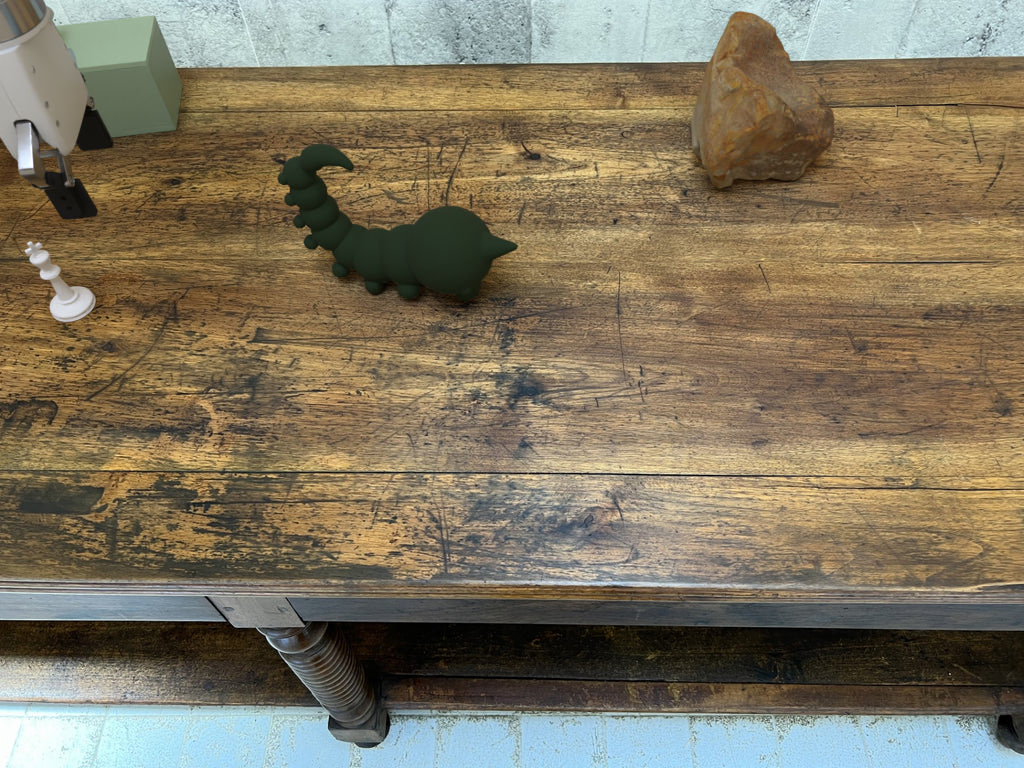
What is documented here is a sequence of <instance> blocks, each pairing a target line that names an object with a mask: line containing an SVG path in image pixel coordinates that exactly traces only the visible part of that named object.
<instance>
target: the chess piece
mask: <svg viewBox="0 0 1024 768" xmlns="http://www.w3.org/2000/svg"><path fill="white" fill-rule="evenodd" d="M26 244H27V246H28V248H26V249H25V250H24V252H25V254H26V255H27V256H28V257H29V262H30V264H32V265H33V266H35V267H37V268H38V269H39V277H40V278H41V279H42V280H45V281H49V282H50V284H51V286H52V287H53V289H54V291H55V295H54V296H53V298H52V299H51V301H50V303H49V311H50V313H51V315H52V317H53V318H54V319H55V320H57V321H58V322H62V323H69V322H70V323H71V322H76V321H78V320H81V319H84V318H85V317H86V316H88V315H89V314H90V313H91V312H92V311H93V309H94V307H95V306H96V302H97V299H96V295H95V294H94V292H92V291H91V290H90V288H88V287H85V286H81V285H78V286H69V285H68V284H67V283H66V281H64V280H63V279H62V278H61V276H60V273H61V267H60V266H59V265H57V264H52V260H51V255H50V253H49V252H48V251H47V250H45V249H42V248H43V247H44V246H43V245H42V243H41V242H40V241H38V242H36V243H35V244H34V243H33V241H31V240H30V241H28V242H26Z"/></svg>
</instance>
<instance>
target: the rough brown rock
mask: <svg viewBox="0 0 1024 768" xmlns="http://www.w3.org/2000/svg"><path fill="white" fill-rule="evenodd" d="M777 33H778V32H777V29H776V27H775V26H774V25H773V24H771V23H770V22H769V21H768V20H766V19H764V18H763V17H761V16H759V15H757V14H756V13H752V12H748V11H744V10H743V11H742V10H739V11H735V12H734V13H732V14H731V15H730V17H729V19H728V21H727V23H726V26H725V28H724V30H723V33H722V35H721V36H720V38H719V39H718V41H717V44H716V47H715V49H714V51H713V53H712V56H711V58H710V60H709V61H708V64H707V66H706V68H705V71H704V74H703V77H702V81H701V84H700V87H699V91H698V95H697V99H696V102H695V104H694V106H693V109H692V115H691V121H690V132H691V149H692V152H693V154H694V155H695V156H697V158H699V159H700V160H701V165H702V166H703V169H704V170H706V172H707V175H708V177H709V180H710V182H711V184H712V185H713V187H716V188H717V189H722V188H726V187H730V186H732V184H733V182H734V181H735V180H737V179H742V180H746V181H747V180H748V181H754V180H755V181H756V180H757V181H758V180H760V181H763V180H769V179H771V178H772V179H775V180H780V181H793V182H794V181H796V180H797V179H799V178H800V177H802V176H803V175H804V174H805V173H806V171H807V170H808V169H809V167H810V166H811V164H812V163H813V162H815V161H816V160H817V159H818V158H819V157H820V156H821V155H822V154H823V153H824V152H825V151H826V150H828V148H830V146H831V145H832V143H833V139H834V136H835V114H834V111H833V109H832V108H831V106H830V104H829V103H828V102H827V101H826V99H825V98H824V97H823V96H822V94H821V93H820V92H819V91H818V89H816V88H815V87H814V86H813V85H812V84H808V83H807V82H806V81H805V80H804V79H802V78H801V77H800V76H798V74H797V73H796V71H795V69H794V67H793V65H792V62H791V58H790V55H789V53H788V52H787V51H786V49H785V47H784V43H783V42H782V41H781V39H780V38H779V36H778V34H777Z"/></svg>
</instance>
